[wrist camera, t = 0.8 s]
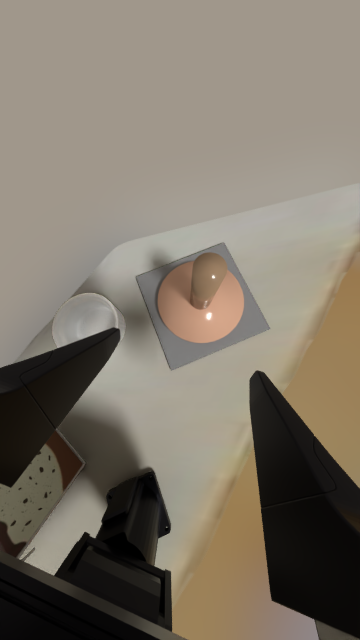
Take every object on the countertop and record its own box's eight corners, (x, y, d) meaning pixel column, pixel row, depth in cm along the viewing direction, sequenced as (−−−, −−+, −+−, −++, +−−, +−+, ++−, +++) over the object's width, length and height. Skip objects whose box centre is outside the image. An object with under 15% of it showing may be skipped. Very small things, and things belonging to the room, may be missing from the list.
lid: (256, 323, 23) (310, 303, 13) (177, 356, 22) (170, 362, 12) (219, 252, 25) (241, 191, 15) (147, 281, 25) (122, 236, 15)
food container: (4, 439, 21) (-151, 516, 11) (38, 404, 22) (-81, 448, 12) (58, 513, 19) (-72, 680, 10) (93, 472, 20) (6, 588, 10)
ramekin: (137, 342, 23) (127, 341, 19) (84, 367, 23) (61, 371, 19) (118, 293, 25) (104, 282, 21) (68, 315, 25) (43, 308, 20)
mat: (269, 329, 23) (270, 328, 23) (171, 370, 22) (171, 370, 22) (223, 244, 26) (224, 242, 26) (136, 278, 25) (135, 276, 25)
